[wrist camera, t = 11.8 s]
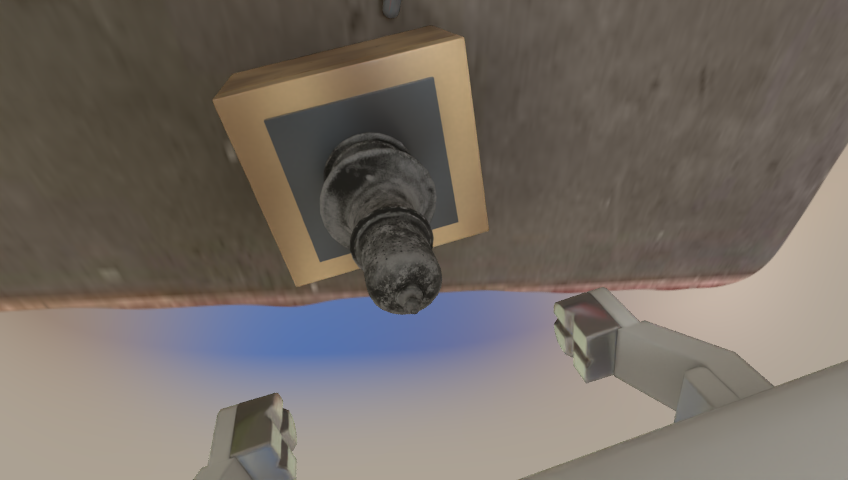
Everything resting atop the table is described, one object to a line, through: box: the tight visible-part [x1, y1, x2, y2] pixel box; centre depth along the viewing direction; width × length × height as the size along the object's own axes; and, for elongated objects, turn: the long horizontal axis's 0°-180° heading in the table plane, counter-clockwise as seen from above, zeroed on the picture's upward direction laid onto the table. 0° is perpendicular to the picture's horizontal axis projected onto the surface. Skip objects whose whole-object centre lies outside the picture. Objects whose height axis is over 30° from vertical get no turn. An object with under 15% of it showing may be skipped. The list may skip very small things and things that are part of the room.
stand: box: [212, 25, 489, 287], centre depth 28 cm, size 13×12×7 cm
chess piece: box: [320, 132, 442, 315], centre depth 20 cm, size 6×6×12 cm
